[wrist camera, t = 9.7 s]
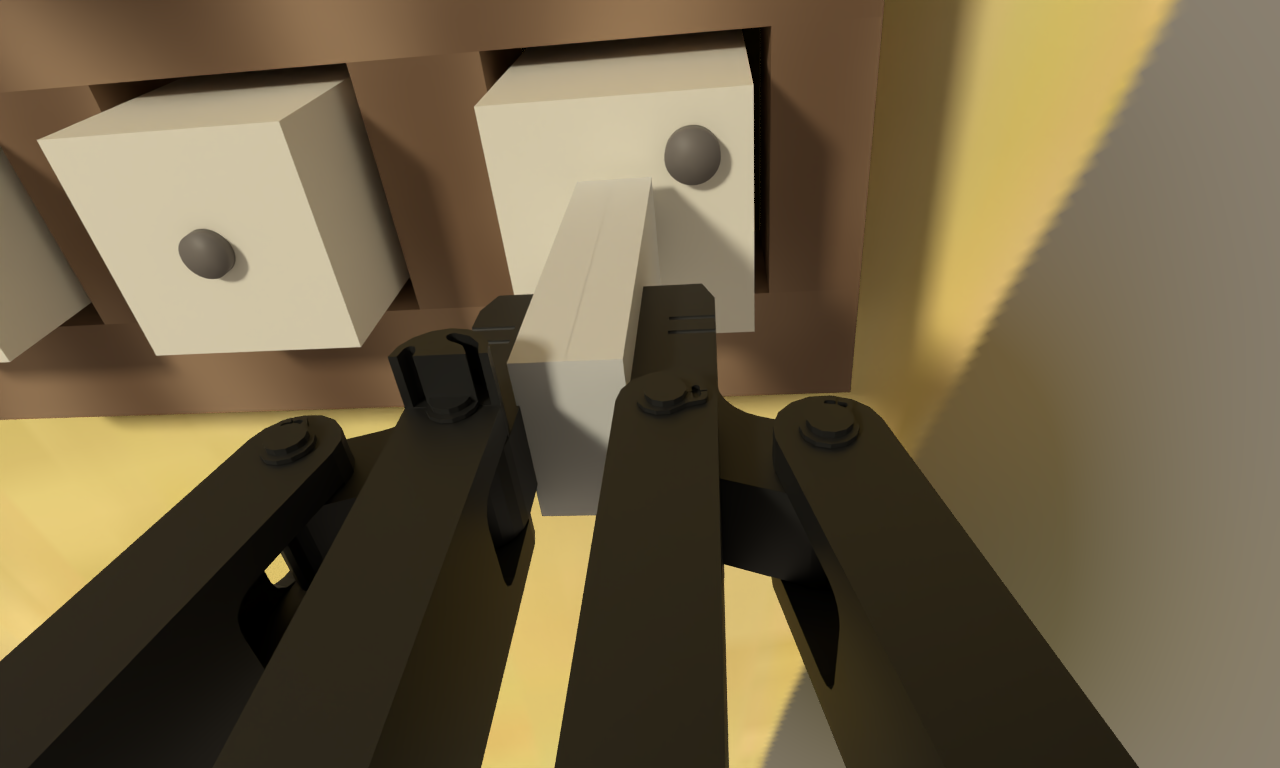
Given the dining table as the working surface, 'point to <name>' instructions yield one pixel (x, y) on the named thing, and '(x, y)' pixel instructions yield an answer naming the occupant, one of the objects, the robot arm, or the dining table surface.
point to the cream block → (238, 210)
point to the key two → (30, 272)
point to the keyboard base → (433, 178)
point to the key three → (632, 153)
